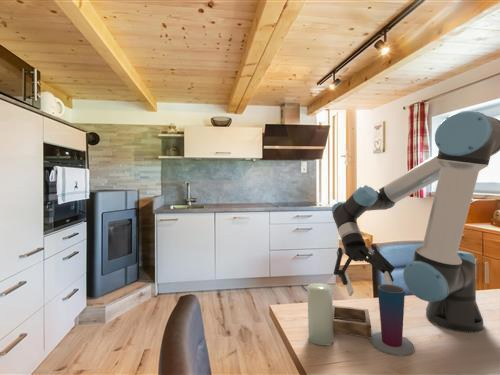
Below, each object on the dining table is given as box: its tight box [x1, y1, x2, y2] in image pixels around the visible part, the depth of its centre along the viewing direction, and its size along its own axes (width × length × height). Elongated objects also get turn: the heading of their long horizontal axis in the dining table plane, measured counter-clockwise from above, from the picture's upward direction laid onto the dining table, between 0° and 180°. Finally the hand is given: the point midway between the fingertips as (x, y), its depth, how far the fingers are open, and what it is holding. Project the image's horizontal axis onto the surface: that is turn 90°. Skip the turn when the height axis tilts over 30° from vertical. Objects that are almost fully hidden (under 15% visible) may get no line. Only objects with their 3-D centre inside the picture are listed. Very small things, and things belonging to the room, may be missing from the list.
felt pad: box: [369, 331, 415, 357], centre depth 79 cm, size 11×11×1 cm
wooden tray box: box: [333, 304, 372, 339], centre depth 90 cm, size 12×12×4 cm
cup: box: [377, 283, 406, 347], centre depth 79 cm, size 7×7×15 cm
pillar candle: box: [307, 282, 334, 346], centre depth 83 cm, size 7×7×15 cm
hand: (372, 293), depth 90 cm, fingers open, 13 cm apart
